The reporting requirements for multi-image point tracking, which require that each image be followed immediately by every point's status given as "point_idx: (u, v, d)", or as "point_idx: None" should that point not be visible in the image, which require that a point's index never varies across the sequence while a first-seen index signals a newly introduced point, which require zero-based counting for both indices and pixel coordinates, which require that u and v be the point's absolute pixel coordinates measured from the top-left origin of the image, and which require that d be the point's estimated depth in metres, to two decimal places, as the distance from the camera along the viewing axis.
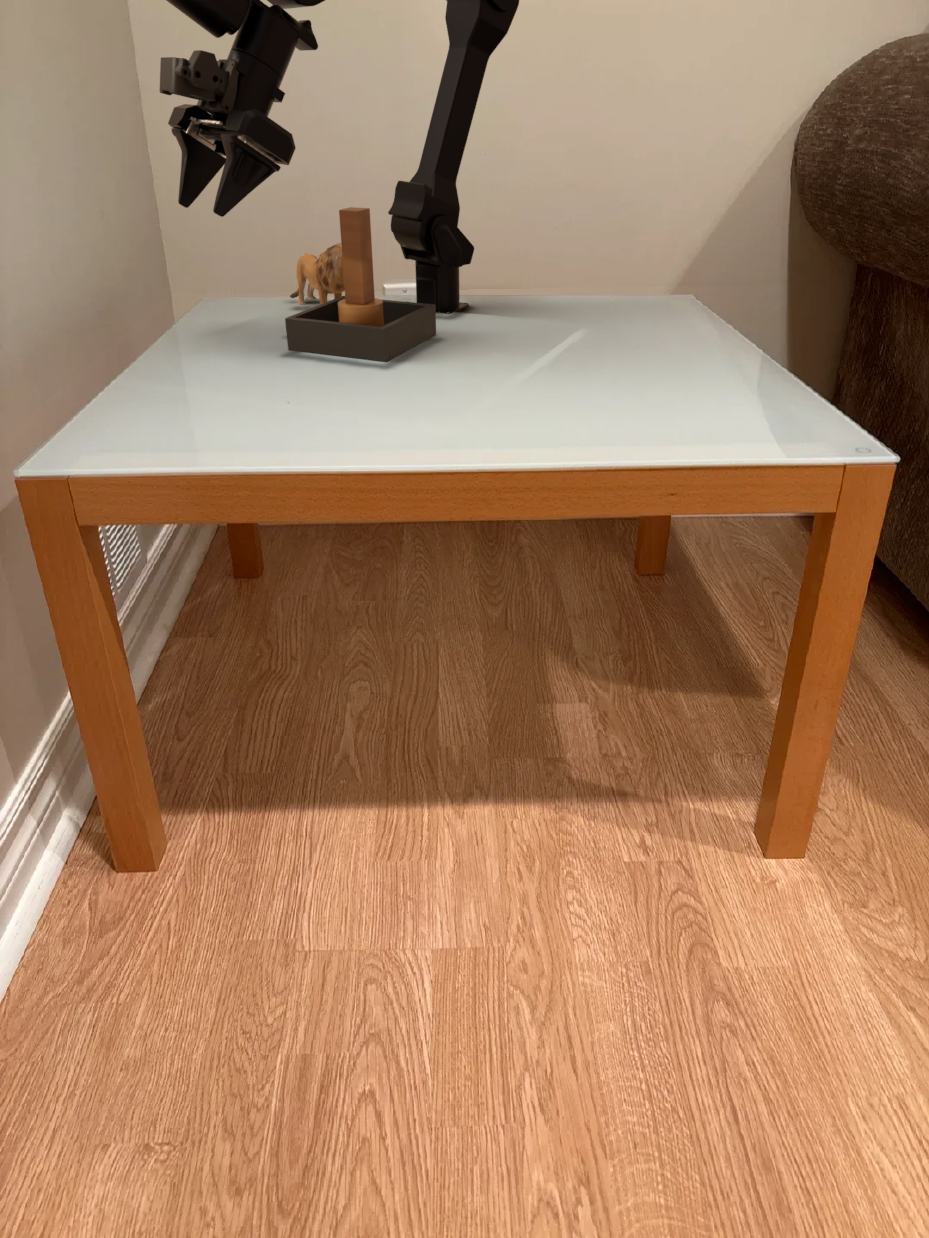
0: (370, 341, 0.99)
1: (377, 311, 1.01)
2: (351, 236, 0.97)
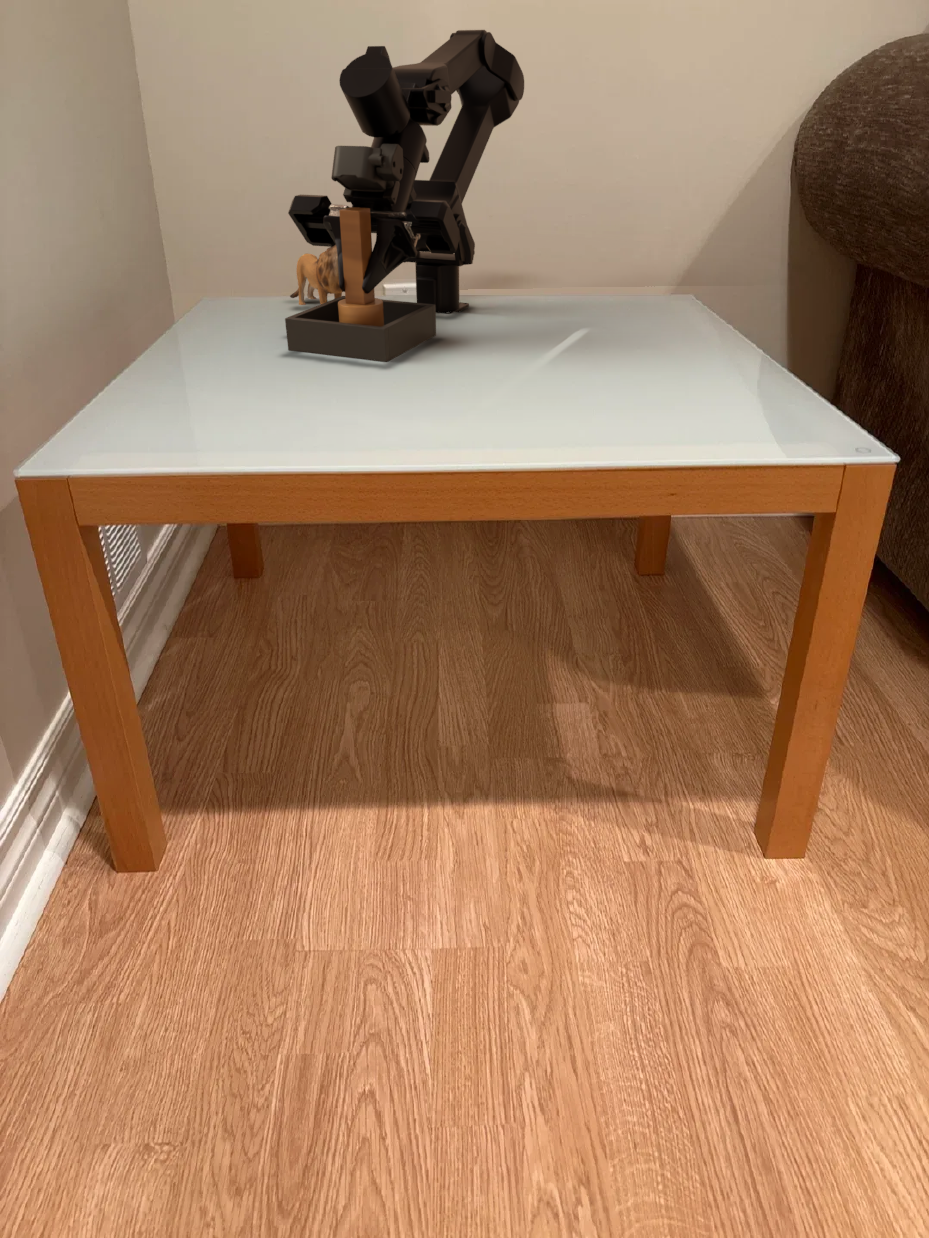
0: (370, 341, 0.99)
1: (378, 311, 1.01)
2: (352, 236, 0.97)
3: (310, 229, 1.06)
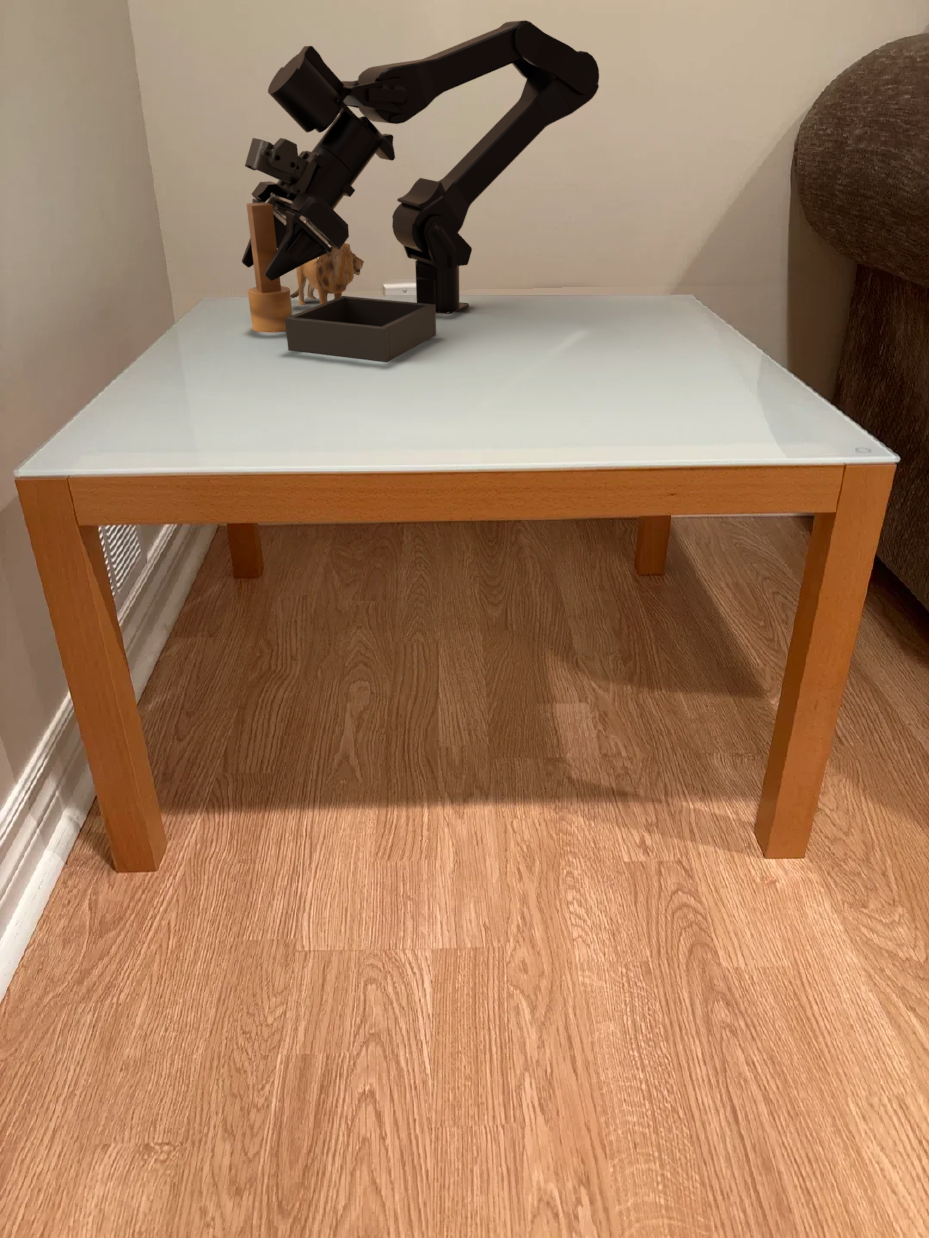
0: (370, 341, 0.99)
1: (271, 300, 1.09)
2: (252, 228, 1.06)
3: None
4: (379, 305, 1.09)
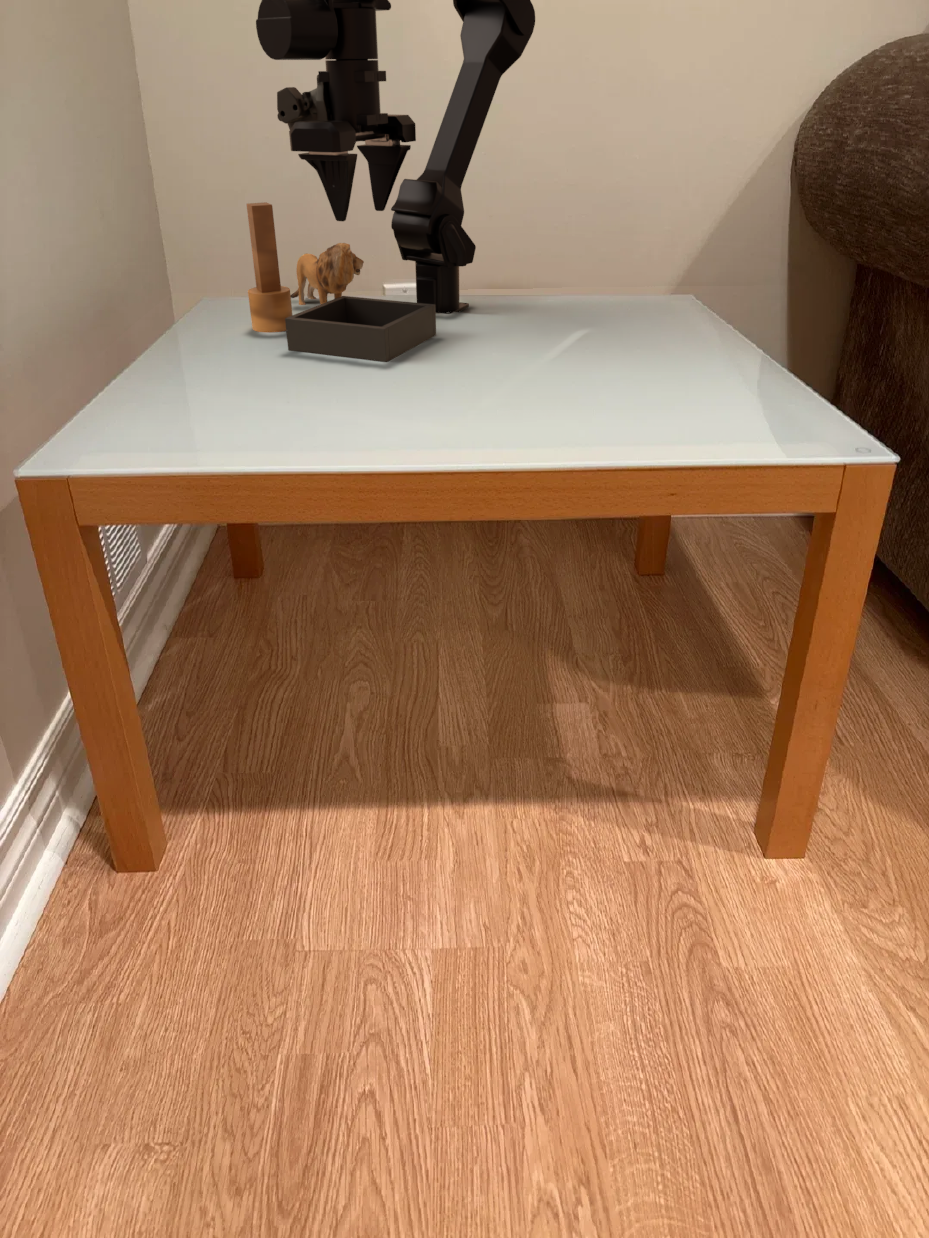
0: (370, 341, 0.99)
1: (271, 300, 1.09)
2: (252, 228, 1.06)
3: None
4: (379, 305, 1.09)
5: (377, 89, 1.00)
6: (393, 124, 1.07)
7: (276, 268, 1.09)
